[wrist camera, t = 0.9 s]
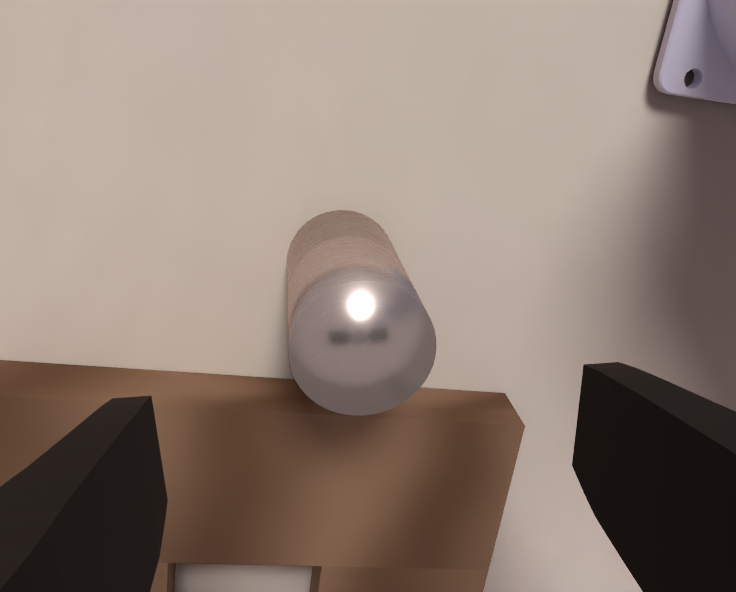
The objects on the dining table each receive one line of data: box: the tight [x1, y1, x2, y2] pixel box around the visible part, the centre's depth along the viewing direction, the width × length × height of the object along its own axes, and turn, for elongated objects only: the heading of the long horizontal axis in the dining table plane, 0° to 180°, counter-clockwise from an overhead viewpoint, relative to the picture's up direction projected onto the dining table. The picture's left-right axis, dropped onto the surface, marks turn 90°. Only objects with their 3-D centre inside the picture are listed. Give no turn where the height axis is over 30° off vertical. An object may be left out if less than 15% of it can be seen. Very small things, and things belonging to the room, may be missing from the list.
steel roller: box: [287, 210, 436, 416], centre depth 17 cm, size 3×3×6 cm
